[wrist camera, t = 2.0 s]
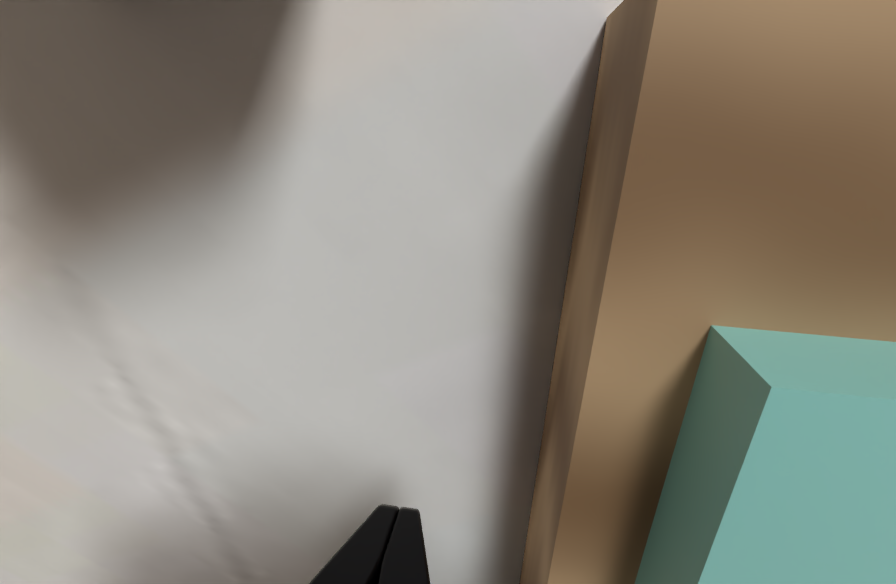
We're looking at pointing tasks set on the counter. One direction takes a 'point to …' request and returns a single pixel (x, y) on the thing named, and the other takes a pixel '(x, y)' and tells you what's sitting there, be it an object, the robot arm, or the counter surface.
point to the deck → (707, 239)
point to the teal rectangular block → (781, 465)
